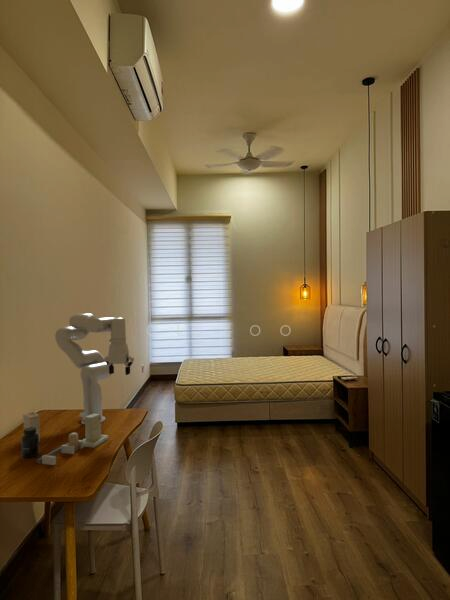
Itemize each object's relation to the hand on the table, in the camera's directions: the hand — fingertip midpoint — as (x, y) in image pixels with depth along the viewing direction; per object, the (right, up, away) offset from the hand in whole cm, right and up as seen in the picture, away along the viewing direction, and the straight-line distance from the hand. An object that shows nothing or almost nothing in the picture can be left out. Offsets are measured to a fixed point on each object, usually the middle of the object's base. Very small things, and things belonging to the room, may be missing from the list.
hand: (119, 374), depth 197 cm
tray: (-7, -29, -19) cm, 35 cm away
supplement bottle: (-30, -30, -32) cm, 53 cm away
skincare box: (-7, -28, -18) cm, 34 cm away
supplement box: (-38, -30, -14) cm, 51 cm away
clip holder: (-17, -29, -32) cm, 46 cm away
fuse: (-13, -29, -27) cm, 42 cm away
